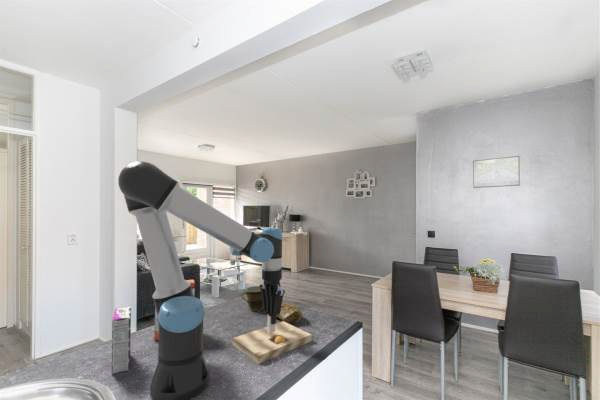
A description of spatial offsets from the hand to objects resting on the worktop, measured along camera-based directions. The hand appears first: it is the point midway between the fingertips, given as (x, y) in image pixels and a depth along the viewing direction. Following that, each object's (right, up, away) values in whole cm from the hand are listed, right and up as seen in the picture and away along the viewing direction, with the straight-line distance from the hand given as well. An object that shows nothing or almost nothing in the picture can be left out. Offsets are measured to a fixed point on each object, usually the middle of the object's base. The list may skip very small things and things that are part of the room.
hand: (271, 331), depth 107 cm
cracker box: (-38, -4, +5) cm, 39 cm away
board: (+1, -4, -1) cm, 4 cm away
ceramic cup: (-12, -5, +34) cm, 37 cm away
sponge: (+2, -5, +25) cm, 25 cm away
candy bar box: (-46, -3, -16) cm, 49 cm away
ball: (+4, -2, -4) cm, 5 cm away
